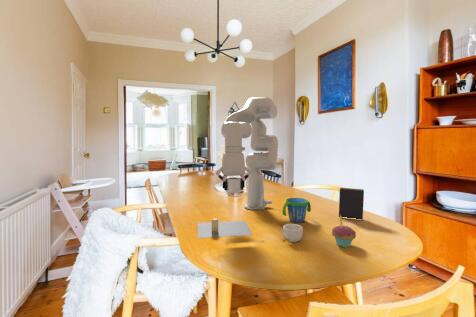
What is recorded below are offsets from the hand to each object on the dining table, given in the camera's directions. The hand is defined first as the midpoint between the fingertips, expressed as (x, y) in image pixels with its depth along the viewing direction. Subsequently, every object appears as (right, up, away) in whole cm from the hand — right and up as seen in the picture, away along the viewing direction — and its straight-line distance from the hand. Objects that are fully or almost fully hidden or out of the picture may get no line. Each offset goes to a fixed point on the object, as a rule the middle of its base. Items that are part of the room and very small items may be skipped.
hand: (233, 189), depth 118 cm
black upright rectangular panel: (+59, -16, +14) cm, 63 cm away
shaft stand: (-4, -18, -4) cm, 19 cm away
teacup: (+24, -19, -12) cm, 33 cm away
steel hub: (0, -1, 0) cm, 1 cm away
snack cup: (+31, -17, +11) cm, 37 cm away
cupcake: (+42, -19, -17) cm, 50 cm away
